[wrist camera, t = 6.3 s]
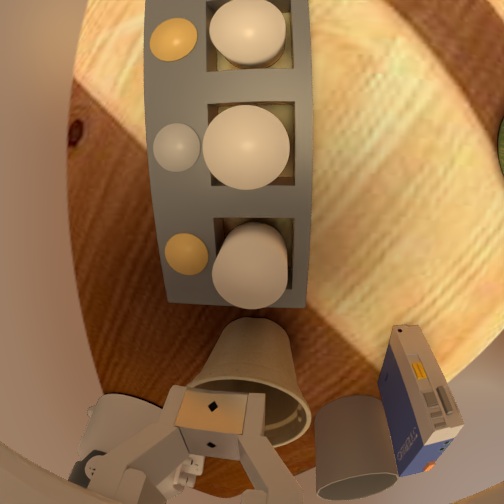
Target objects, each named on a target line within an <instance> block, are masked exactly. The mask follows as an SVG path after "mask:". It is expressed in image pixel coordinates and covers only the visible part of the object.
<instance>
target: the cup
mask: <svg viewBox="0 0 504 504" xmlns="http://www.w3.org/2000/svg"><path fill="white" fill-rule="evenodd" d="M314 426H315V453H316V495H317V496H319V497H320V498H321V499H325V500H331V501H343V500H353V499H359V498H364V497H368V496H371V495H374V494H377V493H380V492H382V491H384V490H386V489H388V488H390V487H392V486H393V485H394V484H395V483H396V482H397V481H398V479H399V478H398V472H397V467H396V461H395V456H394V451H393V447H392V442H391V437H390V433H389V428H388V424H387V420H386V416H385V411H384V408H383V405H382V402H381V401H380V400H379V399H377V398H375V397H373V396H367V395H353V396H348V397H342V398H339V399H337V400H334V401H332V402H330V403H328V404H326V405H324V406H323V407H322V408H321V409H320V410H319V411H318V412H317V413H316V416H315V421H314Z"/></svg>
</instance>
